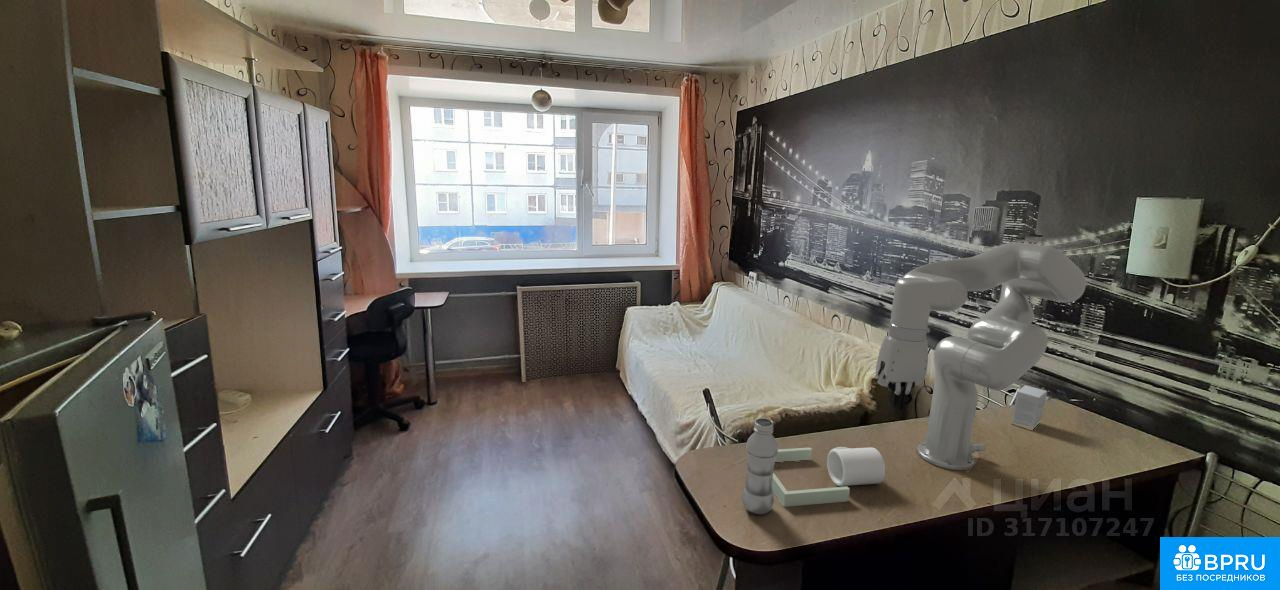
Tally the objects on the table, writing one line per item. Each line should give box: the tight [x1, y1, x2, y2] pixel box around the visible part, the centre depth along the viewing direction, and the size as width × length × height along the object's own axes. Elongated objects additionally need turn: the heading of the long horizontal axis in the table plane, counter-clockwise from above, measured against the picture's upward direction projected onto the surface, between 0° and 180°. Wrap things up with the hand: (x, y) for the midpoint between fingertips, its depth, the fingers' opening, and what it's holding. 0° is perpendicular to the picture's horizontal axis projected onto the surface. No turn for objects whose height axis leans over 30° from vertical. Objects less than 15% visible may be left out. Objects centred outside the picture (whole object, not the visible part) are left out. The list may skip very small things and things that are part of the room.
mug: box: [826, 446, 886, 487], centre depth 123 cm, size 12×10×8 cm
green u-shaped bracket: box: [773, 447, 851, 508], centre depth 122 cm, size 15×18×3 cm
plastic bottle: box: [742, 417, 779, 515], centre depth 109 cm, size 6×7×20 cm
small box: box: [1011, 384, 1048, 428], centre depth 152 cm, size 8×6×10 cm
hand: (896, 408), depth 122 cm, fingers closed
